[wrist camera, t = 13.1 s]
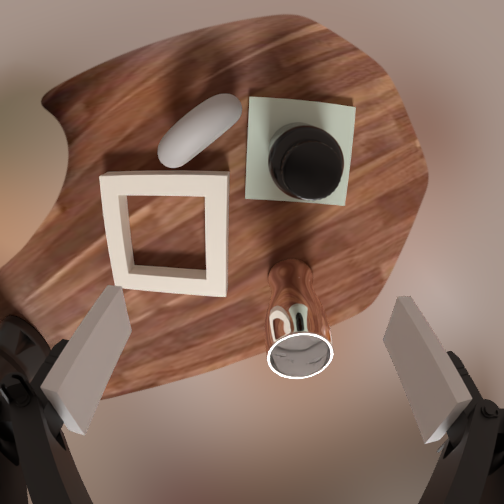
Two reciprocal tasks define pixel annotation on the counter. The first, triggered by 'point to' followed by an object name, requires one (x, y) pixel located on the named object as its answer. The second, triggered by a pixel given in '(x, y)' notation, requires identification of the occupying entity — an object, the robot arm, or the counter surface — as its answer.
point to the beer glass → (296, 323)
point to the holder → (168, 184)
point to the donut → (198, 129)
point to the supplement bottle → (305, 161)
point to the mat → (282, 113)
